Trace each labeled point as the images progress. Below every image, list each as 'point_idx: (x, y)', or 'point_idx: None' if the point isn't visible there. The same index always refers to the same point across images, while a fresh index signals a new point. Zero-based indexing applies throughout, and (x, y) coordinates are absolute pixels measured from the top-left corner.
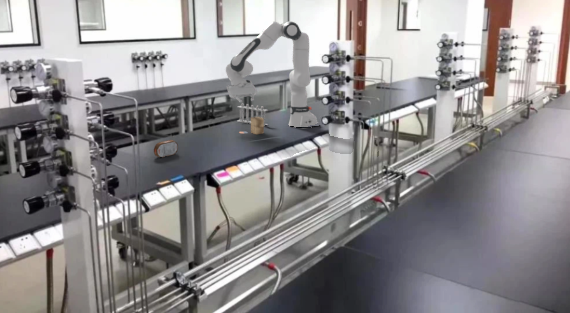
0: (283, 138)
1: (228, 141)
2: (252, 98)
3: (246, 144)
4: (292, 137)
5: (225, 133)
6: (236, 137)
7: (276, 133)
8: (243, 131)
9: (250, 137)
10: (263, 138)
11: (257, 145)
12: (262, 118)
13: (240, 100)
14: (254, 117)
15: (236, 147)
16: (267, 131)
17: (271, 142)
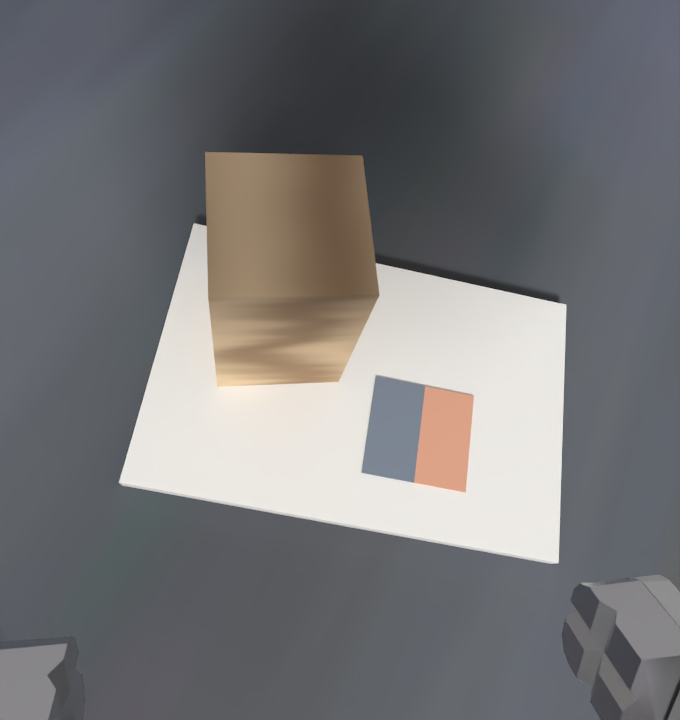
0: (129, 53)
1: (675, 229)
2: (28, 681)
3: (557, 72)
4: (16, 35)
5: (614, 565)
6: None
7: (39, 252)
8: (398, 479)
9: (417, 249)
10: (314, 152)
11: (484, 7)
12: (230, 154)
13: (663, 583)
14: (315, 273)
15: (662, 48)
16: (65, 398)
17: (325, 12)
